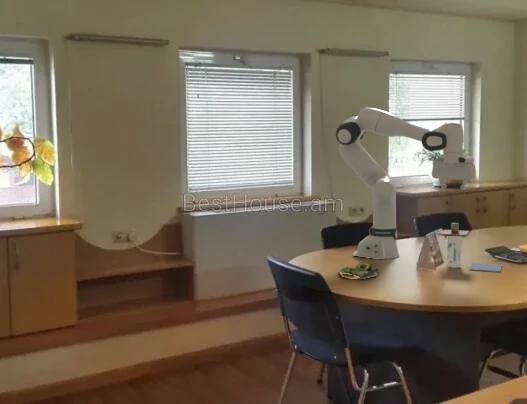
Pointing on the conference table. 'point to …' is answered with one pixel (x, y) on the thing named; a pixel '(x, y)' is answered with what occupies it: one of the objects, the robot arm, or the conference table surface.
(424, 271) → the conference table surface
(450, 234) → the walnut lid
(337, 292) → the conference table surface
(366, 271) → the salad plate
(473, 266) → the slate mat
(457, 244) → the beer glass
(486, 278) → the conference table surface
